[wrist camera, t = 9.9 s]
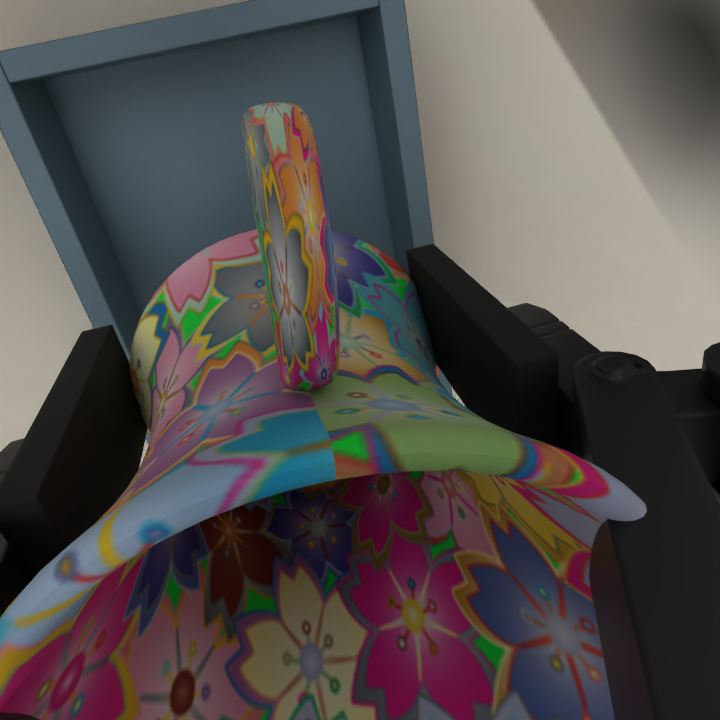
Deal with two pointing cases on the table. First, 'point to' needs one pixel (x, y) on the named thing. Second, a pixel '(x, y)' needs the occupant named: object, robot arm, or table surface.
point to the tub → (209, 136)
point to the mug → (315, 507)
